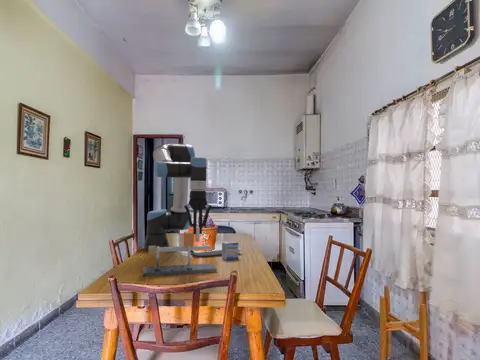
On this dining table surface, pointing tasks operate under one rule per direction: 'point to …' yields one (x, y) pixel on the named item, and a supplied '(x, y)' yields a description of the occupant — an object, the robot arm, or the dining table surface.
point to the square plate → (214, 252)
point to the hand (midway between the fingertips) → (197, 241)
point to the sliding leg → (188, 243)
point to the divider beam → (156, 250)
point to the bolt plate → (179, 269)
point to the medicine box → (230, 250)
